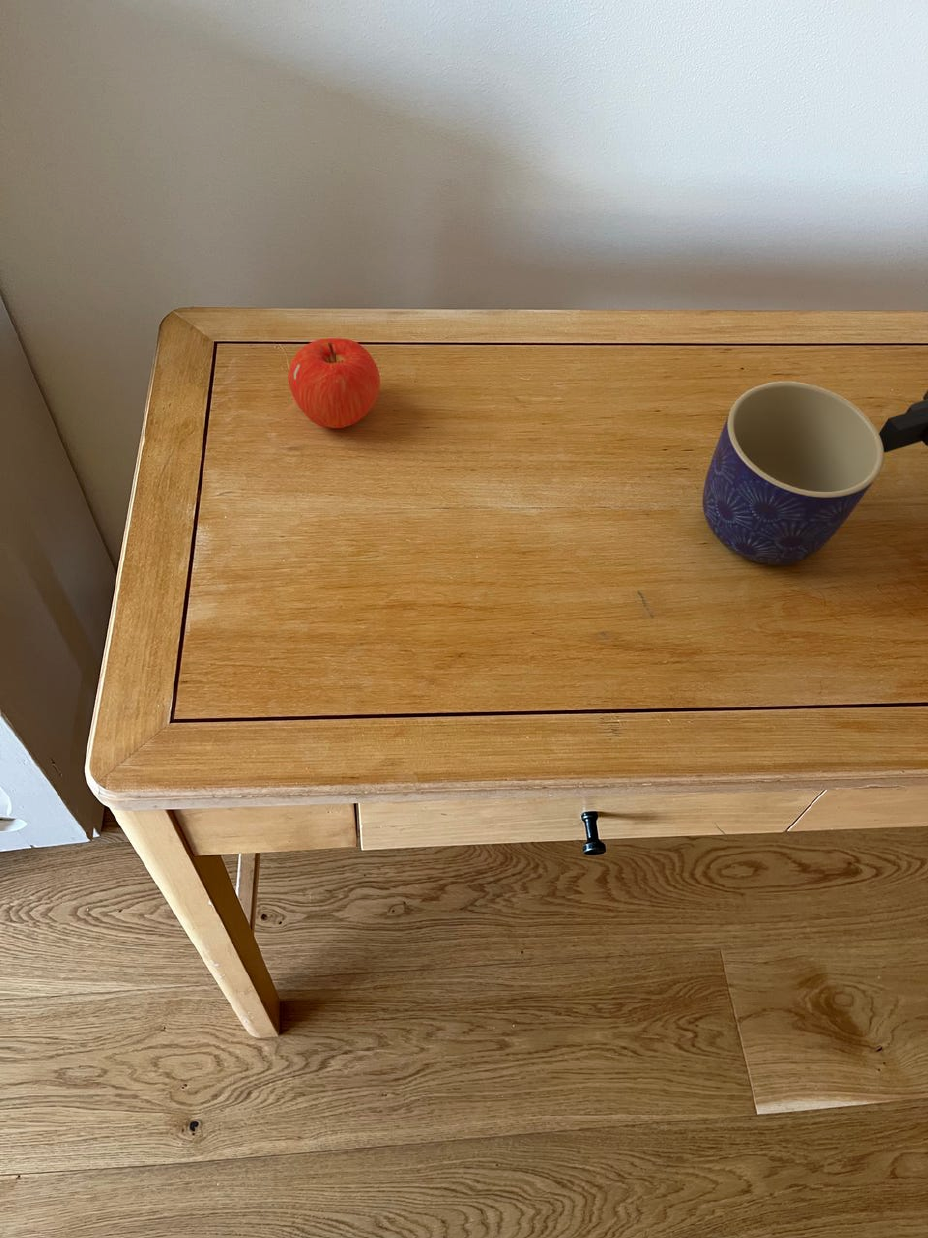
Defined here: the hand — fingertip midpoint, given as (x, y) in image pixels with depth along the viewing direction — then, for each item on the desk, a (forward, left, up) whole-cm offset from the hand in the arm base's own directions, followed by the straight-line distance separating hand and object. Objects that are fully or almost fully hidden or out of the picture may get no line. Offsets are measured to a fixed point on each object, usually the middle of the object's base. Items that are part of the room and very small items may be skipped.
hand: (886, 435), depth 79 cm
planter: (+5, +9, -8) cm, 13 cm away
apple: (+42, +23, -8) cm, 48 cm away
